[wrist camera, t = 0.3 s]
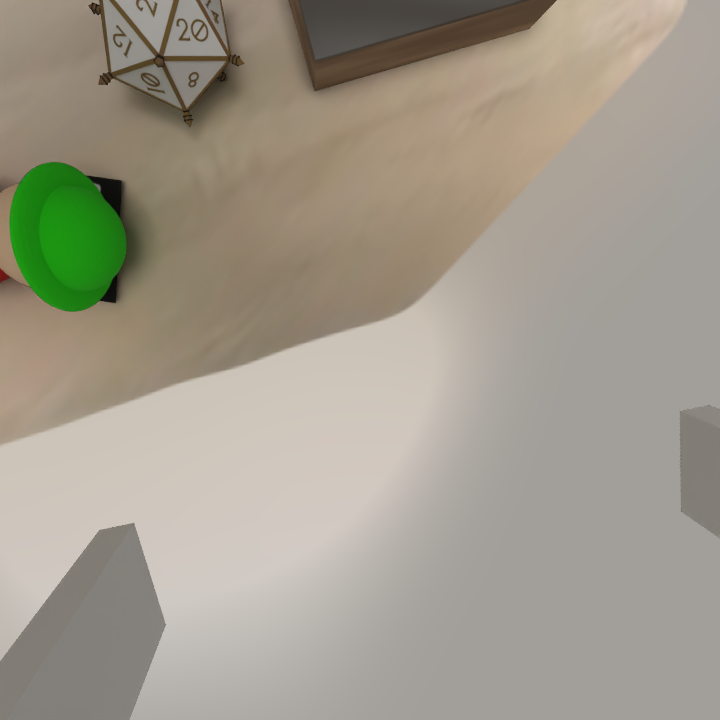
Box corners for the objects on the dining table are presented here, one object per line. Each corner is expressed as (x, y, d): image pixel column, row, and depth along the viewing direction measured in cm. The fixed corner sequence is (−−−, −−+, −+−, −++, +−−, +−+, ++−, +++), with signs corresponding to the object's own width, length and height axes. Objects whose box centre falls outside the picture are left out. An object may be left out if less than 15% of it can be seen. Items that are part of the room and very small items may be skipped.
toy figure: (-33, 291, 36) (160, 302, 35) (-176, 318, 27) (77, 334, 26) (-60, 162, 33) (148, 170, 32) (-229, 145, 24) (52, 156, 23)
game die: (206, 54, 36) (256, -74, 28) (223, 159, 34) (281, 57, 26) (65, 14, 30) (76, -158, 22) (80, 135, 29) (97, 0, 21)
